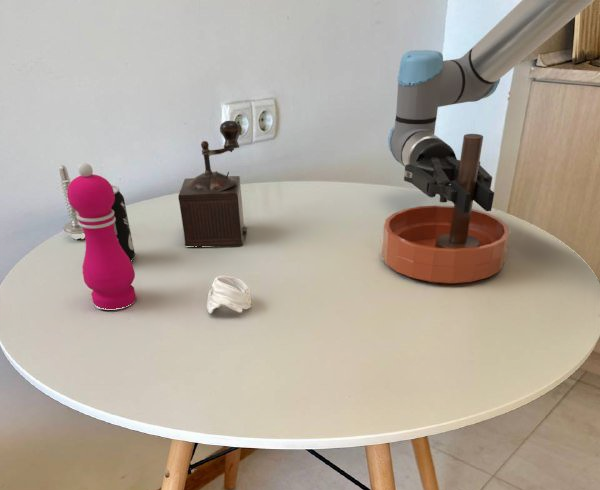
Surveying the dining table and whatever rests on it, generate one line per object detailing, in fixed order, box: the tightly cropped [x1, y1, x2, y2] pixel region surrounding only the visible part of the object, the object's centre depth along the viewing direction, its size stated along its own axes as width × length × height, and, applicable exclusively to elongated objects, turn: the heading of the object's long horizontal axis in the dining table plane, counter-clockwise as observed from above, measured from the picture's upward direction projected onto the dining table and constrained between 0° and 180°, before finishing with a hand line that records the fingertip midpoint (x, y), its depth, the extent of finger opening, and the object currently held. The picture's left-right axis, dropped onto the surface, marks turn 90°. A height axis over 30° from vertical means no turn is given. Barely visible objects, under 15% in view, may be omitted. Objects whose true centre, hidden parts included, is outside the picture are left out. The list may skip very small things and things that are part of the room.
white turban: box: [206, 275, 252, 315], centre depth 86 cm, size 8×7×5 cm
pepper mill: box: [67, 162, 137, 309], centre depth 83 cm, size 7×7×20 cm
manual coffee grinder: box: [178, 120, 248, 248], centre depth 106 cm, size 16×11×18 cm
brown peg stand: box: [435, 133, 484, 249], centre depth 92 cm, size 7×7×18 cm
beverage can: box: [111, 184, 136, 262], centre depth 97 cm, size 7×7×12 cm
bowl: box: [381, 205, 511, 284], centre depth 97 cm, size 20×20×6 cm
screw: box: [58, 164, 84, 235], centre depth 106 cm, size 13×5×5 cm
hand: (478, 202), depth 87 cm, fingers closed on brown peg stand, 3 cm apart
